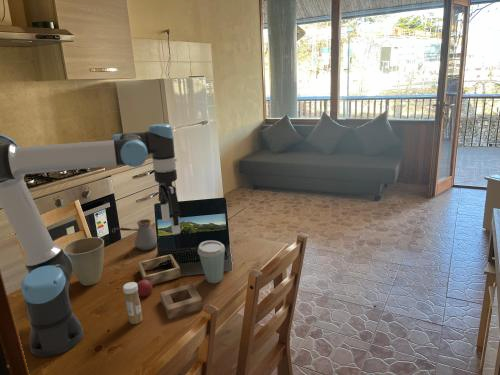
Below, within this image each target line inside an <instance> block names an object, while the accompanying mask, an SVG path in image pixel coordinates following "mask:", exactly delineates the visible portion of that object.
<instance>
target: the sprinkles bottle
mask: <svg viewBox="0 0 500 375" xmlns="http://www.w3.org/2000/svg"><path fill="white" fill-rule="evenodd" d="M137 283H138V282H134V281H130V282H127V283H125V284H124V285H123V286H122V291H123V293H124V299H125V305H126V310H127V311H126V312H127V315H128V321H129V322H128V323H130V325H131V324H132V325H137V324H139V323H141V322H142V321H143V320H144V319H143V318H144V317H143V313H142V307H141V300H140V297H139V295H138V285H137Z"/></svg>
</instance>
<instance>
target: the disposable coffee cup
mask: <svg viewBox="0 0 500 375" xmlns="http://www.w3.org/2000/svg"><path fill="white" fill-rule="evenodd" d="M225 252H226V248H225V245H224V244H223V243H222V242H221V241H218V240H205V241H202V242H200V243H199V245H198V248H197V254H198V255H199V260H200V263H201V266H202V267H201V268H202V269H203V270H202V271H203V273H204V278H205V280H206V282H208V283H210V284H217V283H219V282H221V281H222V280H223V278H224V266H225V264H224V263H225Z"/></svg>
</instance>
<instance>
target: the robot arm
mask: <svg viewBox="0 0 500 375" xmlns="http://www.w3.org/2000/svg"><path fill="white" fill-rule="evenodd" d="M111 139H112V140H101V141H99V140H96V141H86V142H85V141H84V142H72V143H71V142H70V143H59V144H46V145H45V144H44V145H29V146H19V145H18V143H17V142H16V141H14V140H13V138H11V137H9V136H6V135H4V134H0V207H1V208H2V211H3V212H4V215H5V216H6V219H7V220H8V222H9V224H10V226H11V228H12V230H13V233H14V234H15V236H16V239H17V240H18V243H19V244H20V246H21V248H22V250H23V252H24V254H25V255H26V257H25V260H23V265H25V268H26V270H27V271H28V273H26V274H25V275H24V276H23V278H22V279H21V283H20V288H21V289H20V290H21V291H20V292H21V296H22V298H23V302H24V305H25V308H26V311H27V315H28V318H29V322H30V334H29V342H28V343H29V348H30V349H29V350H30V353H31V354H32V353H33V354H32V355H34V356H35V355H36V357H39V358H48V357H49V358H50V357H55V356H58V355H61V354H63V353H66V352H68V351H69V350H71V349H72V348H74V347H75V346H77V345H78V344H79V343H80V341H81V340H82V338H83V336H84V328H83V326H82V323H81V322H80V320H79V319H78V318H77V317H76V315H75V314H74V313H73V309H72V304H71V301H70V296H69V289H70V284H71V278H72V275H73V266H72V262H71V259H70V258H69V256H68V255H67V254H66V253H64V252H63V248H62V247H61V245H58V244H55V243H54V241H53V239H52V237H51V235H50V233H49V230H48V228H47V226H46V224H45V222H44V220H43V217H42V215H41V213H40V212H39V209H38V207H37V204H36V203H35V201H34V198H33V196H32V194H31V192H30V190H29V188H28V186H27V184H26V182H25V180H24V178H25V176H26V175H34V174H42V173H53V172H63V171H73V170H74V171H75V170H83V169H85V170H86V169H96V168H103V167H115V166H116V167H117V166H129V167H132V168H133V167H135V168H137V167H140V166H142V165H143V164H145V163H146V160H147V158H148V155H151V156H152V157H151V158H152V159H151V161H152V167H153V170H154V171H153V174H154V176H153V177H154V181H155V182H156V183H158V201H159V204H160V212H161V219H162V223H164V222H169V221H170V224H171V225H170V226H171V232H172V235H176V234H177V235H178V234H181V225H180V224H181V223H180V216H181V215H182V214H181V210H180V205H179V200H178V196H177V191H176V190H177V188H176V186H174V185H173V182H175V181H177V179H178V175H177V174H178V173H177V169H176V162H177V161H178V160H177V158H176V155H175V154H176V153H175V142H174V135H173V129H172V125H170V124H169V123H156V124H150V125H149V126H148V131H140V132H127V133H124V132H121V133H118V134H114V135H112V137H111Z"/></svg>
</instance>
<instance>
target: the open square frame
mask: <svg viewBox="0 0 500 375" xmlns="http://www.w3.org/2000/svg"><path fill="white" fill-rule="evenodd" d="M167 260H171V263H172V265H173V267H174V268H173V267H172V268H170V269H167V270H162V271H159V272H154V273H151V274H147V273H146V271H149V270H153V269H155V267H157V266H158V265H159V264H160V263H162V262H165V261H167ZM137 265H138V268H139V273H140V276H141V277H142V280H148V281H150V282H151V284H152V286H153V285H157V284H159V283H160V284H161V283H163V282H164V283H165V282H168V281H171V280H174V279H179V278H181V277H182V274H181V273H182V272H181V268H180V267H181V266H179V264H178V263H177V261H176V259H175V258H174V256H173V254H166V255H162V256H158V257H154V258H150V259H146V260H145V259H144V260H142V261H138V264H137ZM172 265H171V266H172ZM157 268H158V267H157Z"/></svg>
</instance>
